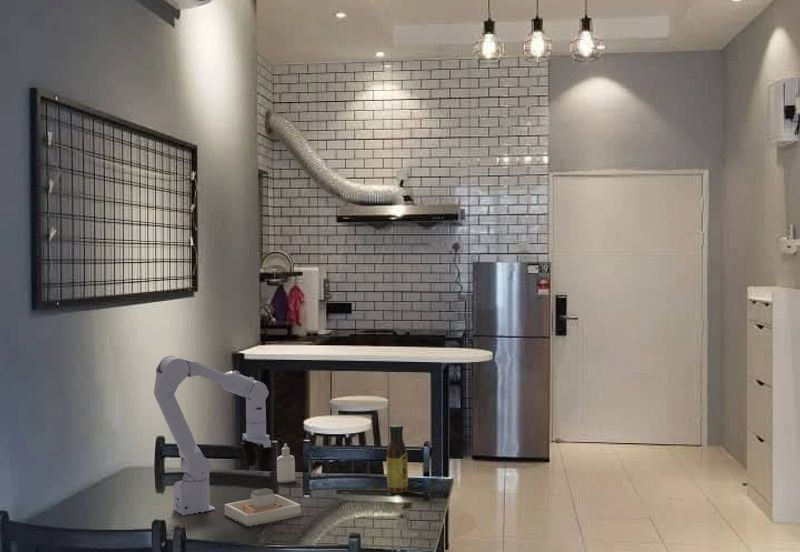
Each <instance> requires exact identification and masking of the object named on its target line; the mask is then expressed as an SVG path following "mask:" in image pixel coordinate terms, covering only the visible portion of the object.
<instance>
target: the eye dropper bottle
mask: <svg viewBox="0 0 800 552" xmlns="http://www.w3.org/2000/svg"><path fill="white" fill-rule="evenodd" d="M295 460H296V459H295V456H294V455H291V454H290V447H288V444H287V443H284V444H283V447H282V448H281V455H279V456H278V457H277V458H276V481H277V483H279V484H280V483H282V484H284V483H285V484H286V483H293V482H295V481H296V461H295Z"/></svg>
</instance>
